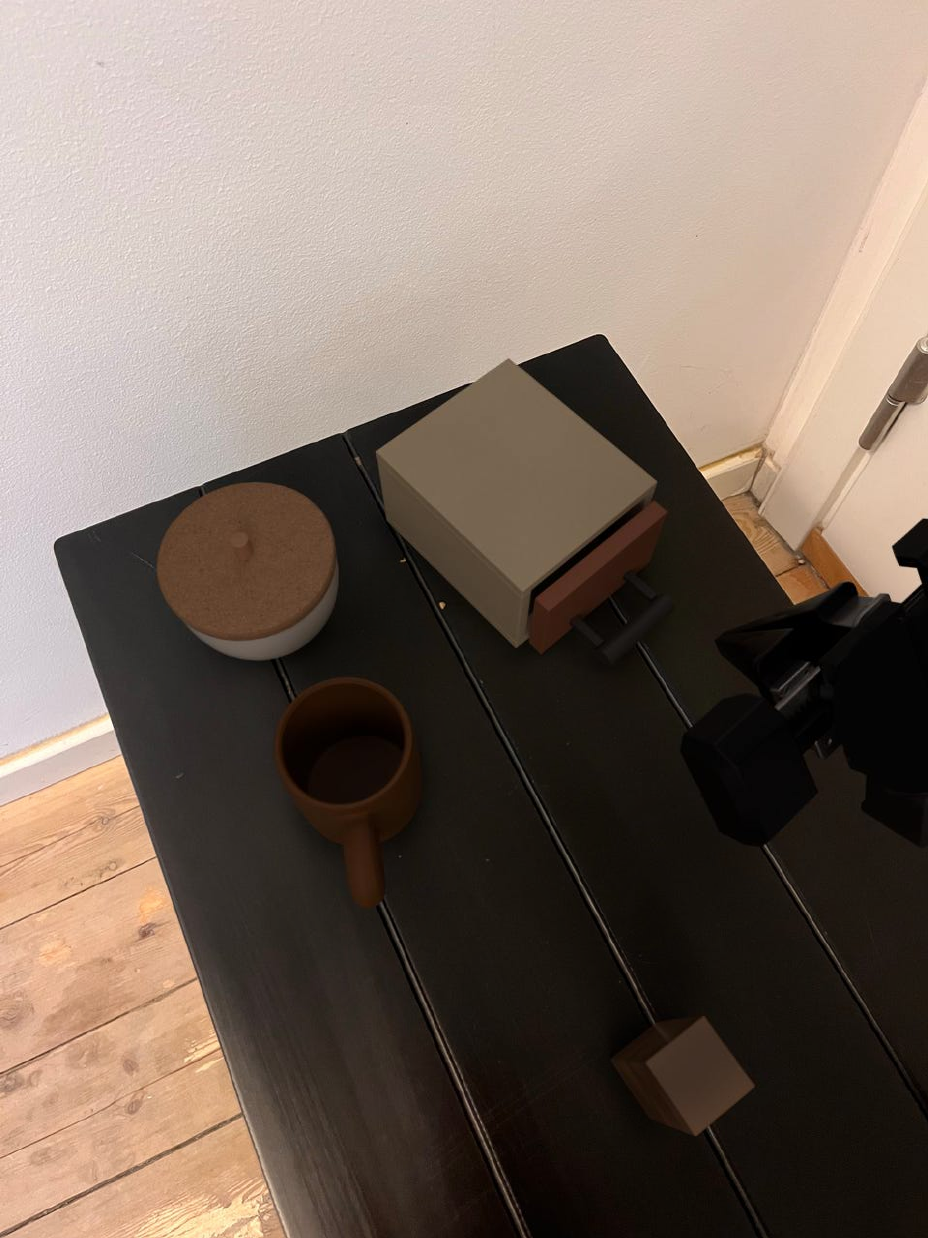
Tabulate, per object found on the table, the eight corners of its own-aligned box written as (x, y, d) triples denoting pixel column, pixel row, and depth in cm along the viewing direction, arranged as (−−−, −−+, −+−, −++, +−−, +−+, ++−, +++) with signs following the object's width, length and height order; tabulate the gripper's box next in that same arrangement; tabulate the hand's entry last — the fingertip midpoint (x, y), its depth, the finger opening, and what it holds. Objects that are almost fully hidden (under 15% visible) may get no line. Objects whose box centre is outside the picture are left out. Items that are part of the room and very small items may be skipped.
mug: (447, 912, 51) (443, 884, 42) (317, 938, 50) (286, 916, 42) (412, 719, 56) (402, 661, 48) (294, 742, 55) (263, 687, 47)
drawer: (692, 599, 59) (716, 551, 53) (583, 696, 56) (596, 656, 50) (524, 452, 64) (529, 394, 58) (416, 533, 61) (411, 480, 55)
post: (698, 1079, 47) (756, 1086, 37) (649, 1119, 46) (695, 1137, 37) (658, 1021, 48) (704, 1014, 39) (609, 1059, 47) (644, 1062, 38)
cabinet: (635, 548, 62) (658, 481, 54) (516, 648, 58) (522, 591, 51) (504, 433, 66) (508, 357, 59) (386, 520, 63) (375, 451, 55)
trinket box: (182, 565, 61) (136, 488, 53) (332, 528, 62) (310, 447, 54) (205, 703, 57) (159, 642, 48) (366, 660, 58) (348, 594, 49)
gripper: (912, 1003, 35) (660, 854, 49) (1152, 721, 41) (866, 657, 55) (830, 805, 31) (578, 702, 45) (1110, 520, 37) (811, 506, 50)
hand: (721, 643), depth 49 cm, fingers closed
